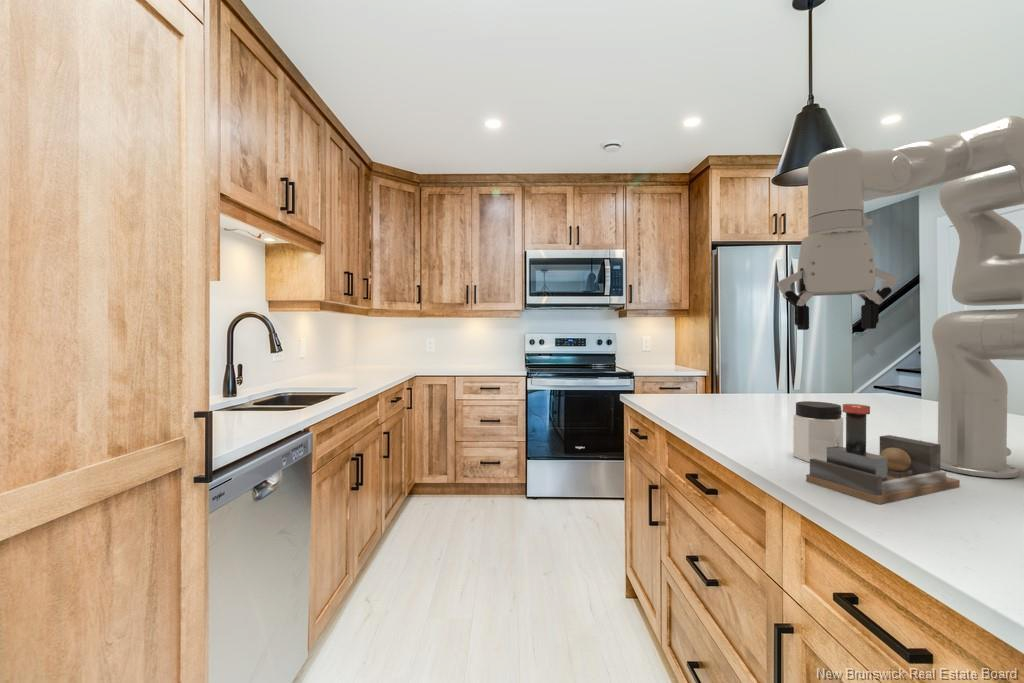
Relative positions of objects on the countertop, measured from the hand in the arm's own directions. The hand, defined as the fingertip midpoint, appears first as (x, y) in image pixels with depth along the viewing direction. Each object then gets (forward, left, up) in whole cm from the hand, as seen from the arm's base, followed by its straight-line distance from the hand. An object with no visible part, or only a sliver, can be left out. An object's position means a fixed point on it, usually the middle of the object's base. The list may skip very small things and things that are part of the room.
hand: (835, 329), depth 74 cm
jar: (-18, -16, -28) cm, 37 cm away
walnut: (-17, -1, -24) cm, 30 cm away
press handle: (-6, 0, -27) cm, 27 cm away
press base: (-13, -1, -28) cm, 31 cm away
